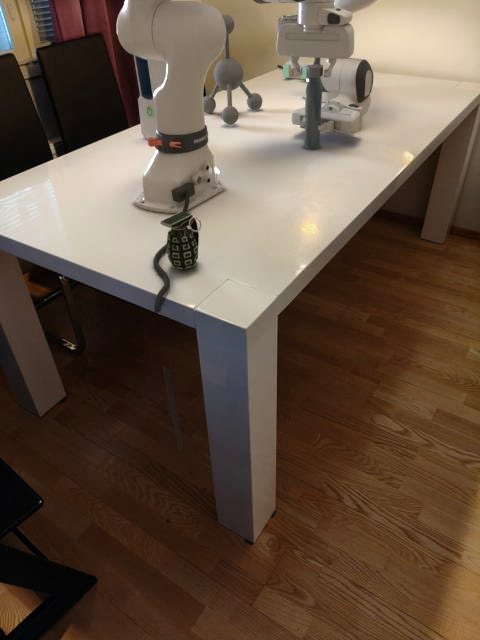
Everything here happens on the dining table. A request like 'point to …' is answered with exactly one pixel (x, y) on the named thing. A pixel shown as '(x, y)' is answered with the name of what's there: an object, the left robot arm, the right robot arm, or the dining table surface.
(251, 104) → the molecular model
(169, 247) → the grenade
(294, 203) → the dining table surface
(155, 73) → the electronic device
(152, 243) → the dining table surface
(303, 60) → the decorative block
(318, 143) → the bottle
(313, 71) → the cap
